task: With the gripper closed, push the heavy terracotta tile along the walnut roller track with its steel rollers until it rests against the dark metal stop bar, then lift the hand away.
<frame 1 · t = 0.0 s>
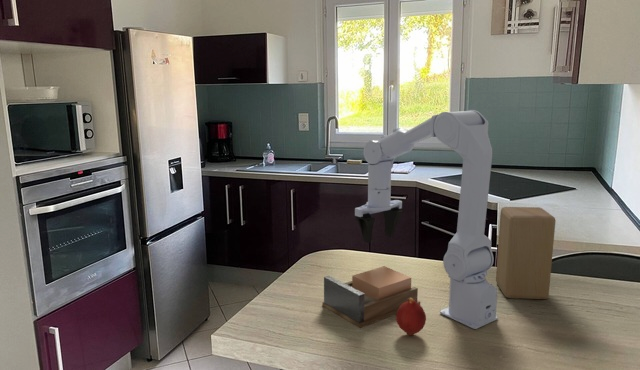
hand: (378, 239, 127), 10 cm above the table, tool pointing down, fingers open, 7 cm apart
wooden block: (520, 292, 119), on the table
roller track: (371, 305, 112), on the table
red pomegranate: (410, 335, 99), on the table
tile: (381, 288, 113), point 3 cm above the table, touching roller track
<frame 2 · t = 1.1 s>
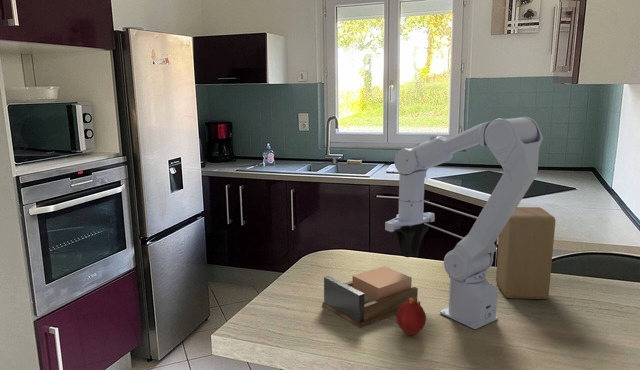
hand: (409, 255, 117), 9 cm above the table, tool pointing down, fingers closed
nothing on the table moved.
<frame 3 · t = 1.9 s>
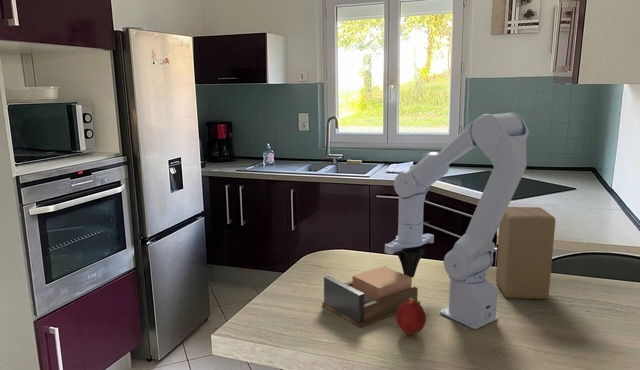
hand: (408, 276, 118), 4 cm above the table, tool pointing down, fingers closed
nothing on the table moved.
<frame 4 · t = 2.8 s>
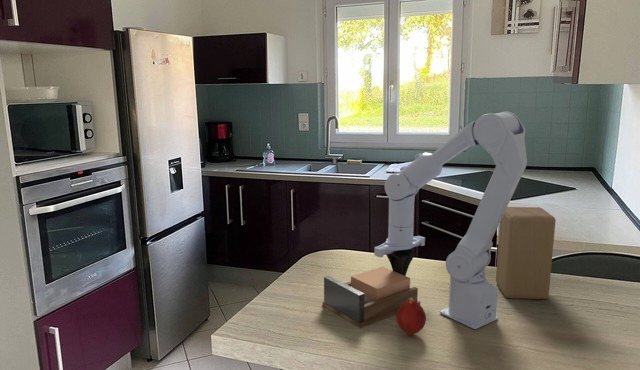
hand: (399, 279, 117), 4 cm above the table, tool pointing down, fingers closed
nothing on the table moved.
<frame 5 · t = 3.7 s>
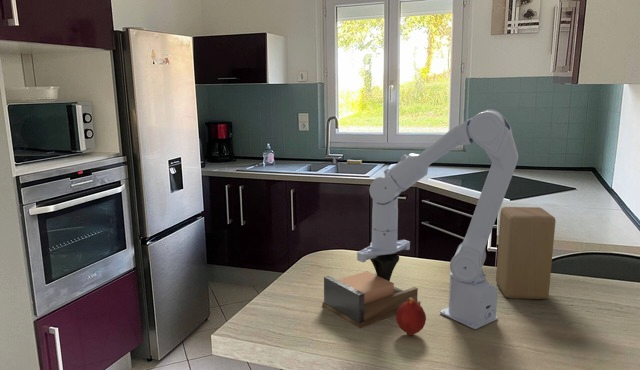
hand: (383, 284, 114), 4 cm above the table, tool pointing down, fingers closed, pressing on tile
tile: (363, 294, 110), point 3 cm above the table, touching gripper, roller track
everything else where it was.
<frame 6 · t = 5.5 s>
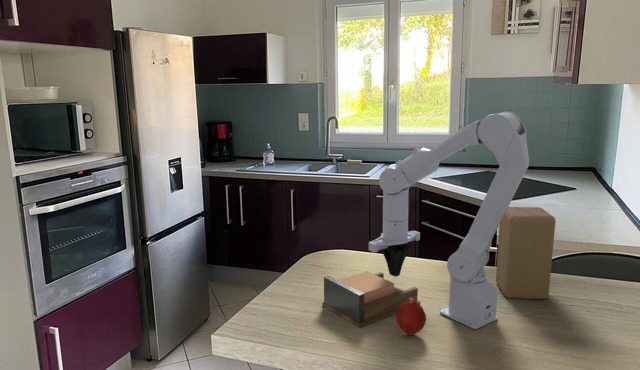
hand: (394, 274, 115), 6 cm above the table, tool pointing down, fingers closed
tile: (363, 294, 110), point 3 cm above the table, touching roller track
everything else where it was.
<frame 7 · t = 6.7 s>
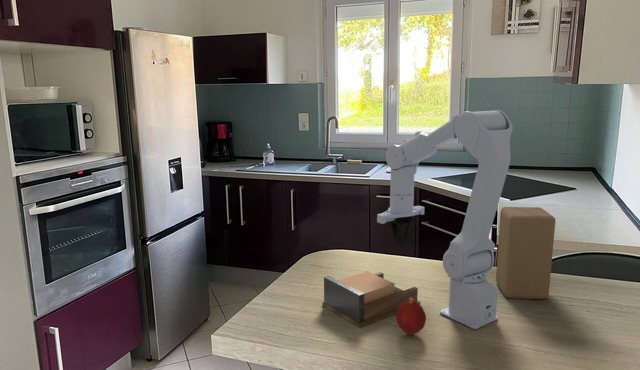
hand: (400, 246, 124), 9 cm above the table, tool pointing down, fingers closed
nothing on the table moved.
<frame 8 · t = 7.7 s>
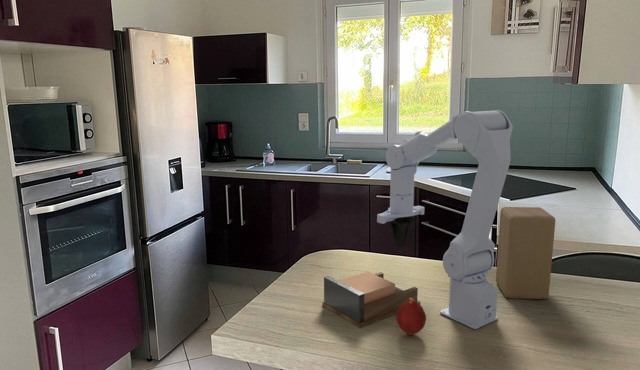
hand: (400, 246, 124), 9 cm above the table, tool pointing down, fingers closed
nothing on the table moved.
at the end: tile 0.5 cm from the target spot on the roller track, point 3.2 cm above the roller track's base; tile tilted 0° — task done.
